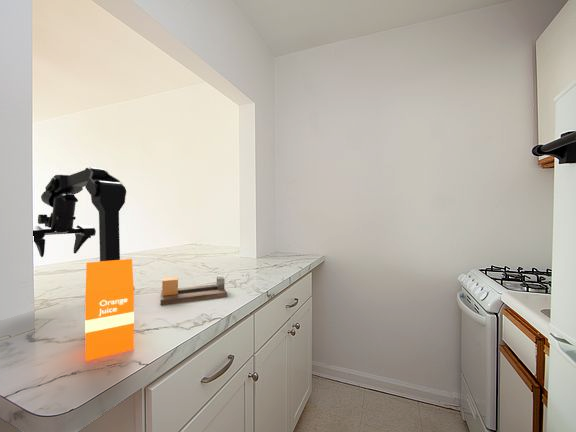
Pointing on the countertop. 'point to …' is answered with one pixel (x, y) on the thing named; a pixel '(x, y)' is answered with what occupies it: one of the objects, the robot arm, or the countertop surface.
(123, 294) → the orange juice
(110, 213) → the robot arm
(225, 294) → the track
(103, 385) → the countertop surface
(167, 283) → the block
